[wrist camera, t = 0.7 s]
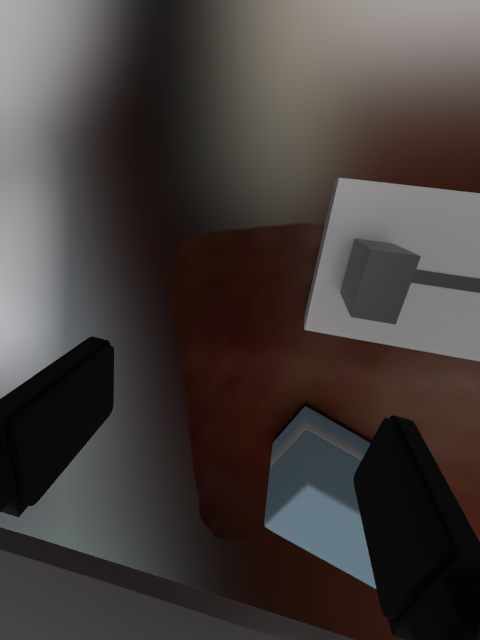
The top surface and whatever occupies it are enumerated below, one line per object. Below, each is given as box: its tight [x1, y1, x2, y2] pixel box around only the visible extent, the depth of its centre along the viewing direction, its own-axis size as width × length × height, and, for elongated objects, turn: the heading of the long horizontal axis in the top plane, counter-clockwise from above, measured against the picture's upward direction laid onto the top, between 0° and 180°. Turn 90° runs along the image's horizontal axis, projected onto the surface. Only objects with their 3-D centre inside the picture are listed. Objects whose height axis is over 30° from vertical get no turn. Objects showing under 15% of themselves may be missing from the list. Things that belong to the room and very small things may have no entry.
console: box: [304, 178, 480, 361], centre depth 26 cm, size 28×14×3 cm, turn 83°
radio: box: [265, 406, 376, 589], centre depth 29 cm, size 16×9×20 cm, turn 61°
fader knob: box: [340, 238, 421, 325], centre depth 23 cm, size 3×5×6 cm, turn 173°
